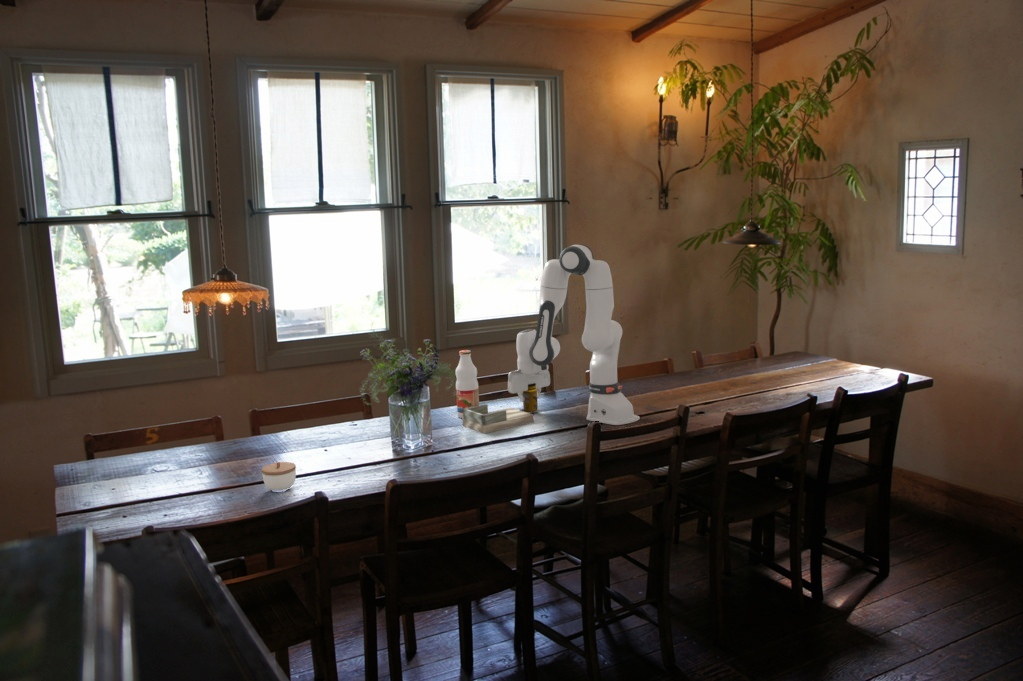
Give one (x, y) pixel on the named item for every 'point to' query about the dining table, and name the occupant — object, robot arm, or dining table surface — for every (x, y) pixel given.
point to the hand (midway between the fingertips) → (529, 399)
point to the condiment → (530, 399)
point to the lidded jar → (279, 475)
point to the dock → (494, 418)
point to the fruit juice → (466, 383)
